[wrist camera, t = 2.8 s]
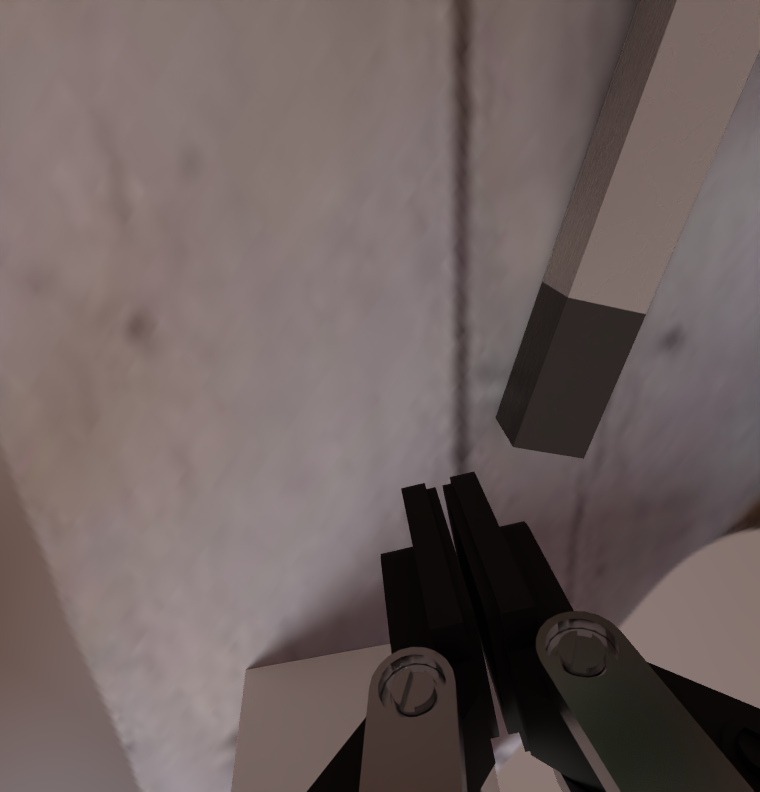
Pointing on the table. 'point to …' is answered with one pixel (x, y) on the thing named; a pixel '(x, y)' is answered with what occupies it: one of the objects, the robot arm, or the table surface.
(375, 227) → the table surface
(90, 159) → the table surface
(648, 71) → the tongs arm
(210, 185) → the table surface
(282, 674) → the milk
